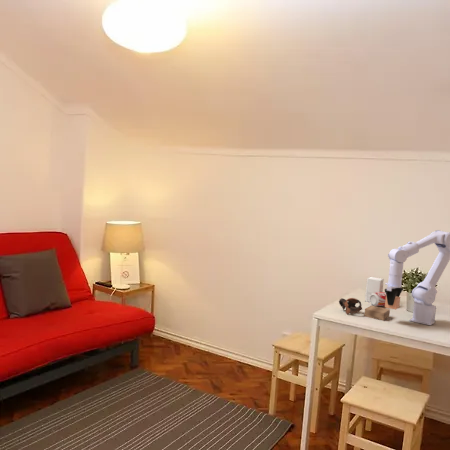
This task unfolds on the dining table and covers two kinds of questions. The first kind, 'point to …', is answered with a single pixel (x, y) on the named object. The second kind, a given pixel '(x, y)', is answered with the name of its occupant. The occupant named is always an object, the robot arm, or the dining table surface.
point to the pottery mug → (350, 305)
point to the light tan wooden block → (377, 313)
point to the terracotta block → (395, 305)
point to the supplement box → (373, 286)
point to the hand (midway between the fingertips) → (392, 304)
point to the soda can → (378, 299)
